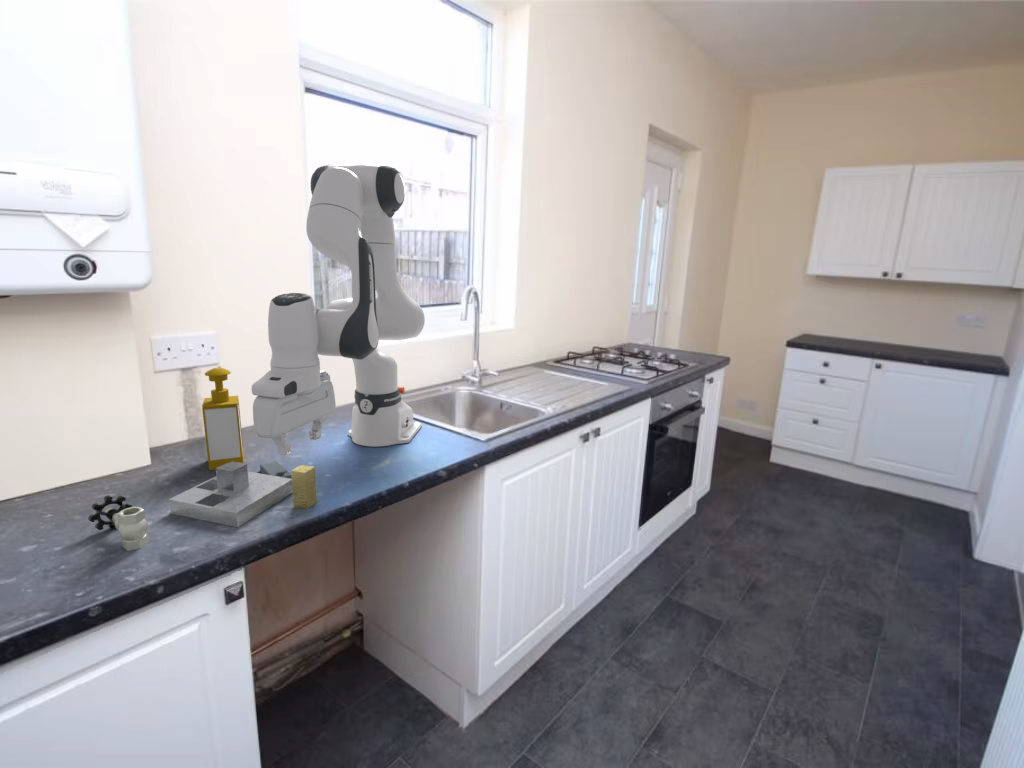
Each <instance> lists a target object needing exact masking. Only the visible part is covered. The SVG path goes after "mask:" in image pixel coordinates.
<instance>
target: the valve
mask: <svg viewBox="0 0 1024 768" xmlns="http://www.w3.org/2000/svg"><path fill="white" fill-rule="evenodd" d="M103 500H104V502H103V503H101V504H100V503H98V502H95V503H93V504H92V505H91V508H92V509H93V510H94V511H95V513H94V514H90V515H89V516H88V517H87V519H88V520H89V522H91V523H94V522H96V521H97V523H96V524H95V526H94V528H95V529H96V530H98V531H103V530H104V526H107V525H108V529H110V530H115V529H116V530H117V532H118V535H119V537H120V539H121V544H122V548H123V549H124V550H126V551H134V550H139V549H142V548H143V547H145V546H146V545H147V544H148V543H149V542H150V541H149V536H148V534H147V532H148V530H149V529H148V528H149V525H148V522H147V520H146V515H145V509H143V508H142V507H141V506H132V504H130V503H125V504H124V503H123V502H126V500H127V498H126V497H125V496H123V495H118V496H117V498H116V499H114V497H113V496H111V495H110V494H109V495H108V494H107V495H105V496H104V497H103ZM109 505H118V506H119V508H115V507H109V508H107V509H106V510H105V511H103V510H104V509H105V508H106V507H107V506H109ZM101 515H102V516H105V517H106V518H107V519H108V520H104V519H102V518H101Z"/></svg>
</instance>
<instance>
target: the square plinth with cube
mask: <svg viewBox="0 0 1024 768" xmlns="http://www.w3.org/2000/svg"><path fill="white" fill-rule="evenodd" d="M248 470H249V469H248V464H247V463H238V462H232V461H230V462H228V463H226V464H224V465H222V466H220V467H218V468H216V469H215V475H216V476H214V477H211V478H210V479H207V480H206V481H203V482H200V483H199V484H197V485H195V486H194V487H192V488H189V489H187V490H185V491H183V492H181V493H179V494H177V495H175V496H172V497H171V498H169V499H168V505H169V511H170V512H169V513H170V514H171V515H176V516H182V517H186V518H190V519H196V520H201V521H206V522H211V523H215V524H220V525H224V526H230V527H235V528H239V527H240V526H242V525H244V524H245V523H247V522H248V521H249V520H251V519H253V518H255V517H256V516H258V515H259V514H261V513H263V512H264V511H266V510H267V509H269V508H270V507H272V506H273V505H275V504H277V503H279V502H280V501H282V500H284V499H285V498H287V497H288V496H289V495H291V494H293V488H292V479H289V478H283V477H277V476H272V475H266V474H263V473H259V472H254V471H248Z"/></svg>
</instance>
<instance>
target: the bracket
mask: <svg viewBox="0 0 1024 768" xmlns="http://www.w3.org/2000/svg"><path fill="white" fill-rule="evenodd" d="M259 469H260V470H259V471H260V472H261V474H266V475H272V476H277V477H283V478H289V479H292V474H291V473H290V472H288V470H286V468H284V467H283V466H282V465H281V464H280V463H279V462H278V461H277V460H275V461H270V462H265V463H261V464H260V465H259Z"/></svg>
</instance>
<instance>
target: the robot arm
mask: <svg viewBox="0 0 1024 768" xmlns="http://www.w3.org/2000/svg"><path fill="white" fill-rule="evenodd" d="M310 177H311V179H310V192H311V199H310V203H309V208H308V212H307V218H306V227H305V229H306V235H307V238H308V241H309V242H310V244H311V245H312V247H314V248H315V249H316V250H317V251H318V252H319V253H320V254H322V256H325V257H326V258H328V259H330V260H332V261H335V262H337V263H339V264H342V265H344V266H346V267H347V268H349V269H350V272H351V297H347V298H340V299H334V300H331V301H330V302H329V303H328V305H327V306H326V308H324V307H323V308H322V307H321V308H320V307H319V306H316V305H315V301H314V299H313V297H312V295H310V294H307V293H301V292H289V293H282V294H279V295H276V296H275V297H273V298H272V299H271V300H270V303H269V307H268V313H267V314H268V317H267V330H268V331H267V333H268V343H269V346H270V349H271V359H270V369H269V370H268V371H267V372H266V373H265V374H264V375H262V377H260V378H259V379H258V380H257V381H255V382H253V384H252V385H251V394H252V395H253V396H256V397H255V399H254V401H253V404H252V420H253V430H254V432H255V434H256V435H257V436H258V437H260V438H264V439H272V441H273V442H274V443H275V445H276V446H277V454H278V455H281V456H286V455H288V454H290V453H291V452H292V451H291V450H292V449H291V444H289V443H287V442H286V440H285V439H287V433H290V432H291V431H294V430H296V429H298V428H300V427H301V428H302V427H303V426H306V425H308V424H310V423H312V425H311V428H310V430H309V431H308V435H309V436H308V438H309V440H314V441H316V440H319V439H321V438H322V433H321V431H322V428H323V425H324V423H325V417H326V416H328V415H330V414H333V413H334V412H335V409H336V406H337V405H336V404H337V403H336V397H335V396H336V394H335V390H334V385H333V382H332V381H331V375H330V374H329V373H328V372H327V371H326V370H321V367H320V366H321V363H320V357H319V356H327V357H328V356H329V357H341V358H346V359H352V363H353V367H354V374H355V388H356V389H355V390H354V403H355V405H354V406H353V407H352V411H351V413H352V414H351V427H350V429H349V430H348V432H347V433H348V436H349V437H351V441H352V442H353V443H355V444H356V445H359V446H363V447H364V446H365V447H376V448H377V447H386V446H393V445H399V444H408V443H410V442H411V441H412V439H413V438H414V437H415V435H416V434H417V433H418V431H420V430H421V428H422V423H421V422H419V421H416V420H414V410H413V409H412V407H411V406H409V405H408V404H407V403H406V402H404V401H403V400H402V394H405V392H406V388H405V386H399V384H398V383H399V382H398V380H399V379H398V363H397V361H396V359H395V358H394V357H393V356H391V355H390V354H388V353H386V352H384V351H382V350H380V349H379V348H377V347H378V345H379V341H381V340H382V341H401V340H408V339H413V338H417V337H418V336H419V335H420V334H421V332H422V330H423V329H424V326H425V313H424V310H423V308H422V307H421V306H420V304H419V303H418V302H416V301H415V300H414V299H413V298H412V297H410V295H408V293H407V292H406V291H405V289H404V288H403V286H402V284H401V282H400V279H399V275H398V270H397V262H396V261H397V260H396V259H397V258H396V235H395V228H394V227H395V225H394V219H393V217H394V215H395V213H396V212H397V211H399V209H400V208H401V207H402V205H403V204H404V201H405V195H406V186H405V182H404V181H405V180H404V178H403V174H402V173H401V171H400V170H399V169H398V168H397V167H396V166H394V165H390V164H385V163H381V164H374V163H369V162H368V163H366V162H365V163H364V162H354V163H346V164H345V163H344V164H335V165H332V164H326V165H321V166H319V167H317V168H316V169H315V170H314V172H313V173H312V175H311V176H310ZM376 294H377V297H376Z"/></svg>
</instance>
